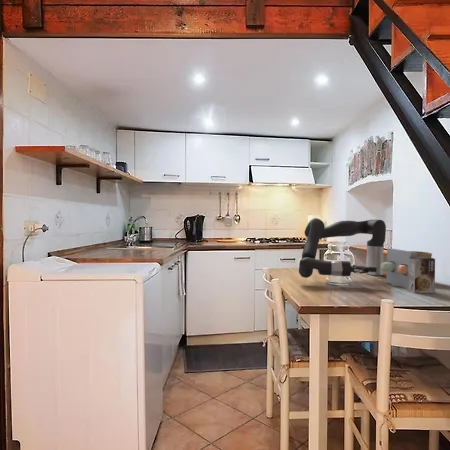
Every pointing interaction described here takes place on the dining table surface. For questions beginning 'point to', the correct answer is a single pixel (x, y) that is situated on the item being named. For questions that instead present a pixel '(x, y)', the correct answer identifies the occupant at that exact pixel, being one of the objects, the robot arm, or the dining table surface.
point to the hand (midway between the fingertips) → (376, 269)
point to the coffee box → (422, 274)
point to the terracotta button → (402, 269)
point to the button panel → (400, 259)
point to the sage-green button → (388, 266)
